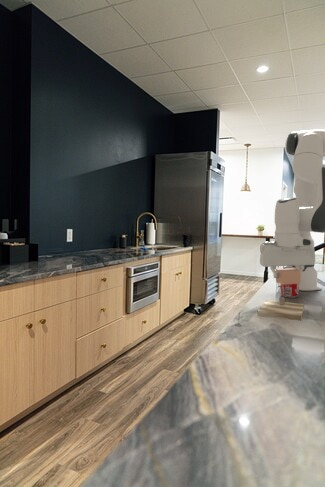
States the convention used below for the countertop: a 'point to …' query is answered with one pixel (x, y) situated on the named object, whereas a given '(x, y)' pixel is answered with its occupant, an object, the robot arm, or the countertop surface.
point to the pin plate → (282, 309)
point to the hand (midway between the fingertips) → (287, 277)
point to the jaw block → (288, 276)
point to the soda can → (290, 288)
